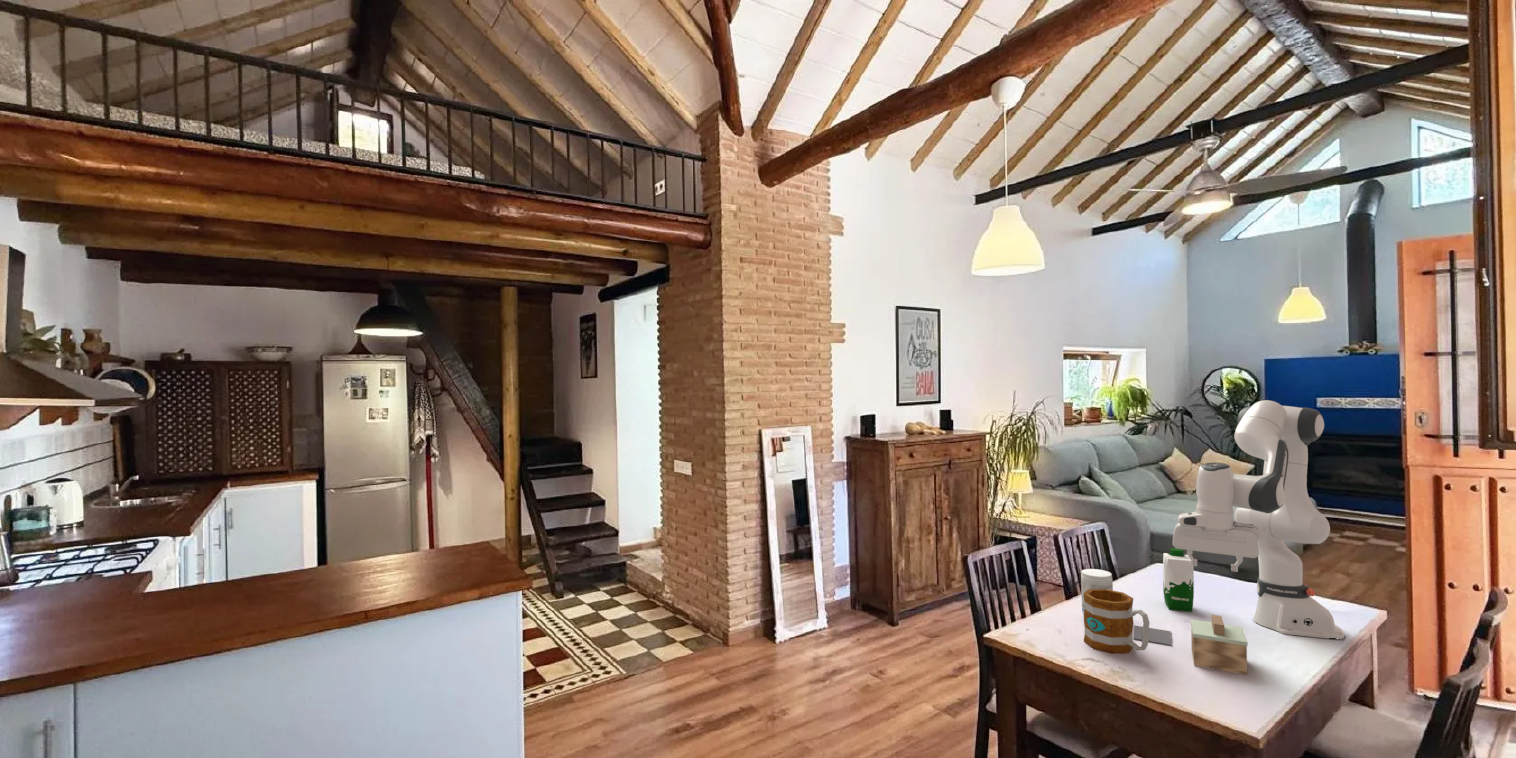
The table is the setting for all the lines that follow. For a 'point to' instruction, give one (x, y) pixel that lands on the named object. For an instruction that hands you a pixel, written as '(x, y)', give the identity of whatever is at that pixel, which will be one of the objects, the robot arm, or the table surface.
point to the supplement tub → (1095, 581)
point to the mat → (1154, 635)
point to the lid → (1218, 631)
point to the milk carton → (1178, 580)
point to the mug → (1111, 622)
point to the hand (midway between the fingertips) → (1214, 568)
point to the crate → (1219, 655)
